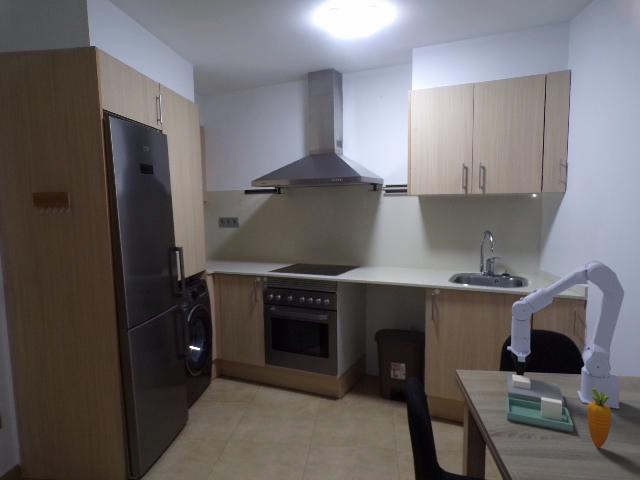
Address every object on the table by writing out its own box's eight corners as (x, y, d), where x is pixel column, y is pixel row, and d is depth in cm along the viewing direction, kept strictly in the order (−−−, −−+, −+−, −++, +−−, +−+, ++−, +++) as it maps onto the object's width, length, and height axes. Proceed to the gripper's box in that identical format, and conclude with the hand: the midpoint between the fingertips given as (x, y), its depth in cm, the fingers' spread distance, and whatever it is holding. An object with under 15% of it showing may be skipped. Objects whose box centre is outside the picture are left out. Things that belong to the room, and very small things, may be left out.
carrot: (614, 455, 91) (616, 396, 90) (591, 452, 92) (593, 394, 91) (603, 443, 96) (605, 386, 95) (582, 440, 97) (583, 385, 96)
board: (557, 393, 122) (557, 383, 122) (564, 413, 111) (564, 401, 110) (506, 385, 129) (507, 375, 128) (507, 402, 117) (508, 392, 117)
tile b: (529, 382, 123) (529, 376, 123) (530, 389, 118) (530, 383, 118) (512, 380, 125) (512, 374, 125) (512, 386, 121) (512, 380, 121)
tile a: (561, 400, 107) (562, 403, 105) (560, 417, 107) (561, 420, 106) (541, 396, 109) (541, 399, 108) (540, 413, 110) (541, 416, 108)
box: (566, 415, 109) (566, 407, 109) (572, 433, 100) (573, 425, 100) (506, 403, 116) (506, 397, 116) (507, 419, 107) (507, 412, 107)
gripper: (507, 329, 135) (506, 365, 136) (508, 341, 122) (507, 381, 123) (529, 331, 132) (528, 368, 133) (532, 344, 119) (531, 385, 120)
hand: (519, 374), depth 128 cm, fingers closed
